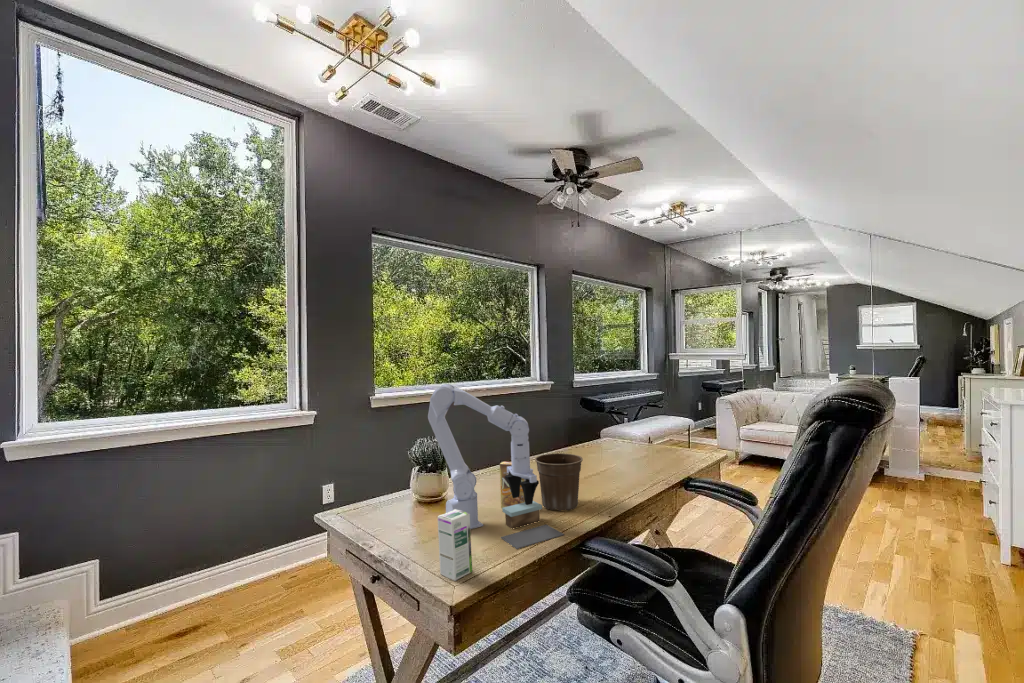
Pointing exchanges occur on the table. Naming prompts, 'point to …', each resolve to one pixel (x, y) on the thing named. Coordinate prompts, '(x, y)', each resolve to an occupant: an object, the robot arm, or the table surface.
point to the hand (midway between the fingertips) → (522, 500)
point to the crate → (522, 519)
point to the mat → (531, 536)
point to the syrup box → (454, 544)
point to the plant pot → (559, 480)
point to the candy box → (508, 488)
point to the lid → (521, 508)
